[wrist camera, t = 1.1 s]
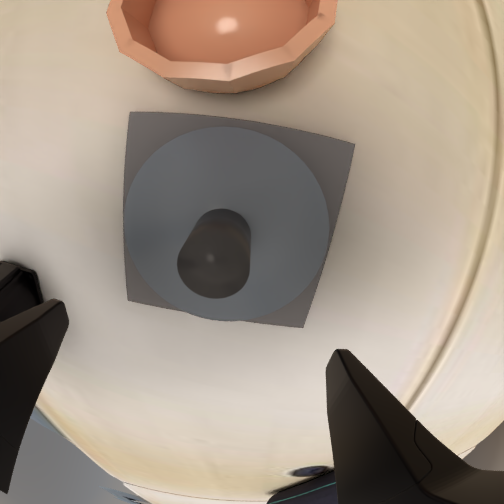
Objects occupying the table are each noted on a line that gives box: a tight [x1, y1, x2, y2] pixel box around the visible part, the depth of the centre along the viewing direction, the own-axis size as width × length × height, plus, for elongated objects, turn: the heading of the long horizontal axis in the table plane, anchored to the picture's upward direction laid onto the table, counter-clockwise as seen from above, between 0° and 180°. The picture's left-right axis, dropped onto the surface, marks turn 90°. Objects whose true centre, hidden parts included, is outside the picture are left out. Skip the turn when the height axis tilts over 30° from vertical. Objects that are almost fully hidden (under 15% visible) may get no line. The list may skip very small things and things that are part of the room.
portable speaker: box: [267, 471, 338, 504], centre depth 38 cm, size 25×10×10 cm, turn 148°
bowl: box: [106, 0, 337, 93], centre depth 10 cm, size 11×11×5 cm
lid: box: [124, 126, 329, 321], centre depth 15 cm, size 13×13×5 cm
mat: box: [123, 112, 355, 328], centre depth 18 cm, size 14×14×1 cm
